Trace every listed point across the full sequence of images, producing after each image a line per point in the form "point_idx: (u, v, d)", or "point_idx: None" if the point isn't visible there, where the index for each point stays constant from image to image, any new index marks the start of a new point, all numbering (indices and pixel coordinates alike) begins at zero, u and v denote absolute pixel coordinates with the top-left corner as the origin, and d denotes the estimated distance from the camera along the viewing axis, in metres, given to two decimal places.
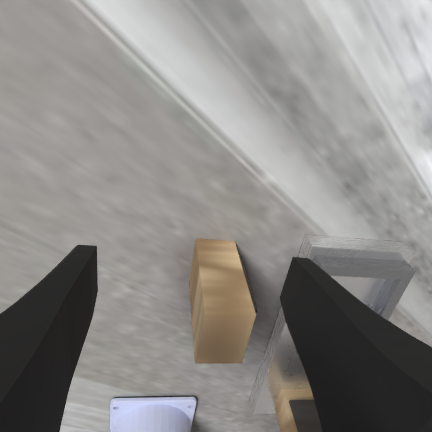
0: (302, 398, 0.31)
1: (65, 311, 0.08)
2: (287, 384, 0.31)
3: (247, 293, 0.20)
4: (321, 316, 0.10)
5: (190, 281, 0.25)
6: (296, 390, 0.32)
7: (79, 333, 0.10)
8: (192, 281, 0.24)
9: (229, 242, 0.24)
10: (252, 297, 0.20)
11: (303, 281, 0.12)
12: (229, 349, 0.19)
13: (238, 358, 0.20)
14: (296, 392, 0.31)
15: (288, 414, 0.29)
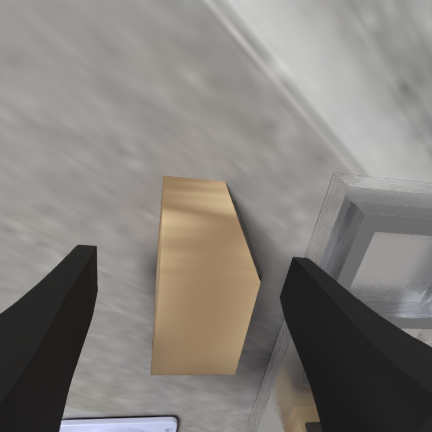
0: None
1: (65, 311, 0.08)
2: (302, 399, 0.22)
3: (244, 248, 0.11)
4: (321, 316, 0.10)
5: None
6: (314, 408, 0.23)
7: (79, 333, 0.10)
8: (158, 243, 0.15)
9: (216, 182, 0.15)
10: (253, 256, 0.11)
11: (303, 281, 0.12)
12: (211, 349, 0.11)
13: (229, 366, 0.11)
14: (314, 410, 0.23)
15: None
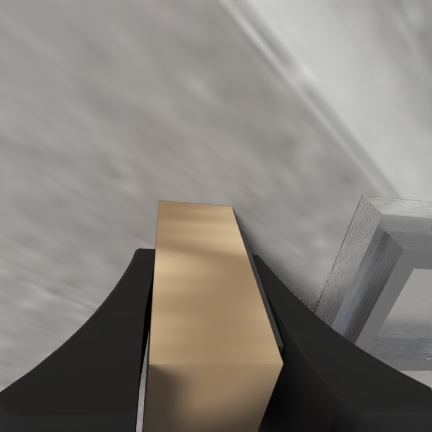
0: None
1: (145, 313, 0.09)
2: None
3: (259, 307, 0.09)
4: None
5: None
6: None
7: (146, 334, 0.10)
8: None
9: (221, 208, 0.13)
10: (270, 315, 0.09)
11: None
12: None
13: None
14: None
15: None
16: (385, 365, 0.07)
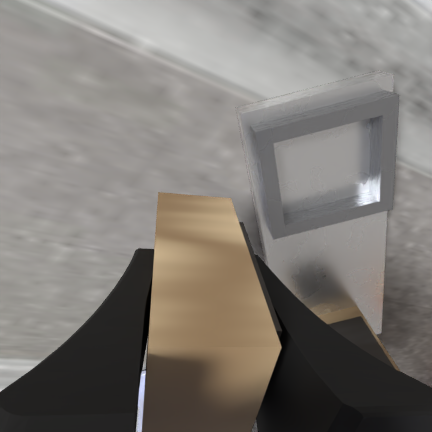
0: (332, 322, 0.25)
1: (145, 313, 0.09)
2: None
3: (257, 293, 0.09)
4: None
5: None
6: (324, 315, 0.25)
7: (146, 334, 0.10)
8: None
9: (221, 199, 0.13)
10: (268, 302, 0.09)
11: None
12: (216, 422, 0.08)
13: None
14: (324, 317, 0.25)
15: None
16: (385, 365, 0.07)
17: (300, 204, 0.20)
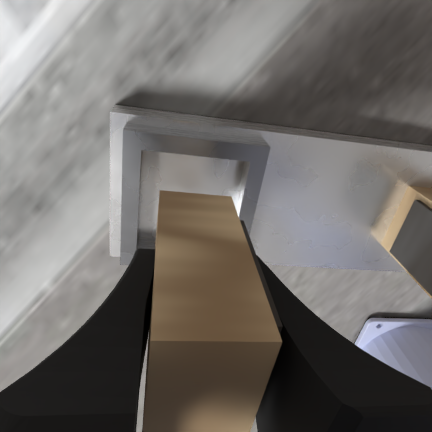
0: (401, 228, 0.19)
1: (145, 313, 0.09)
2: (371, 238, 0.20)
3: (258, 289, 0.09)
4: None
5: None
6: (391, 226, 0.20)
7: (146, 334, 0.10)
8: None
9: (221, 197, 0.13)
10: (269, 298, 0.09)
11: None
12: (217, 417, 0.08)
13: None
14: (392, 228, 0.20)
15: (403, 267, 0.19)
16: (385, 365, 0.07)
17: None
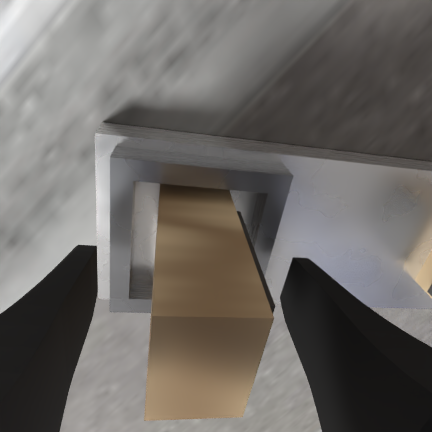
0: None
1: (65, 311, 0.08)
2: (404, 274, 0.18)
3: (253, 272, 0.09)
4: (321, 316, 0.10)
5: None
6: (428, 260, 0.17)
7: (79, 333, 0.10)
8: None
9: (219, 190, 0.14)
10: (263, 281, 0.09)
11: (303, 281, 0.12)
12: (215, 391, 0.09)
13: (236, 409, 0.10)
14: (430, 263, 0.17)
15: None
16: None
17: None
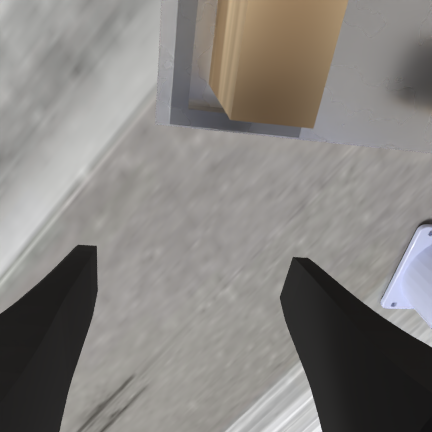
0: None
1: (65, 311, 0.08)
2: None
3: None
4: (321, 316, 0.10)
5: (211, 72, 0.16)
6: None
7: (79, 333, 0.10)
8: (215, 55, 0.15)
9: None
10: None
11: (303, 281, 0.12)
12: (294, 85, 0.10)
13: (309, 115, 0.11)
14: None
15: None
16: None
17: None
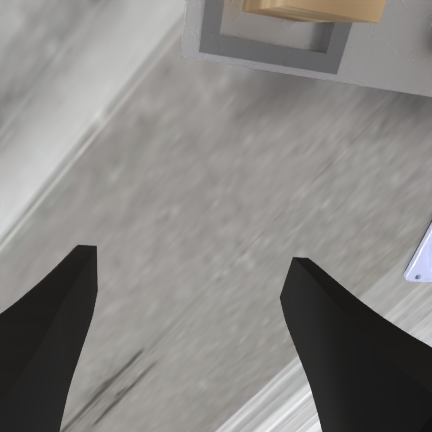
0: None
1: (65, 311, 0.08)
2: None
3: None
4: (321, 316, 0.10)
5: None
6: None
7: (79, 333, 0.10)
8: None
9: None
10: None
11: (303, 281, 0.12)
12: None
13: (376, 4, 0.10)
14: None
15: None
16: None
17: None
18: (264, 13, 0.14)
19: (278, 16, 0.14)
